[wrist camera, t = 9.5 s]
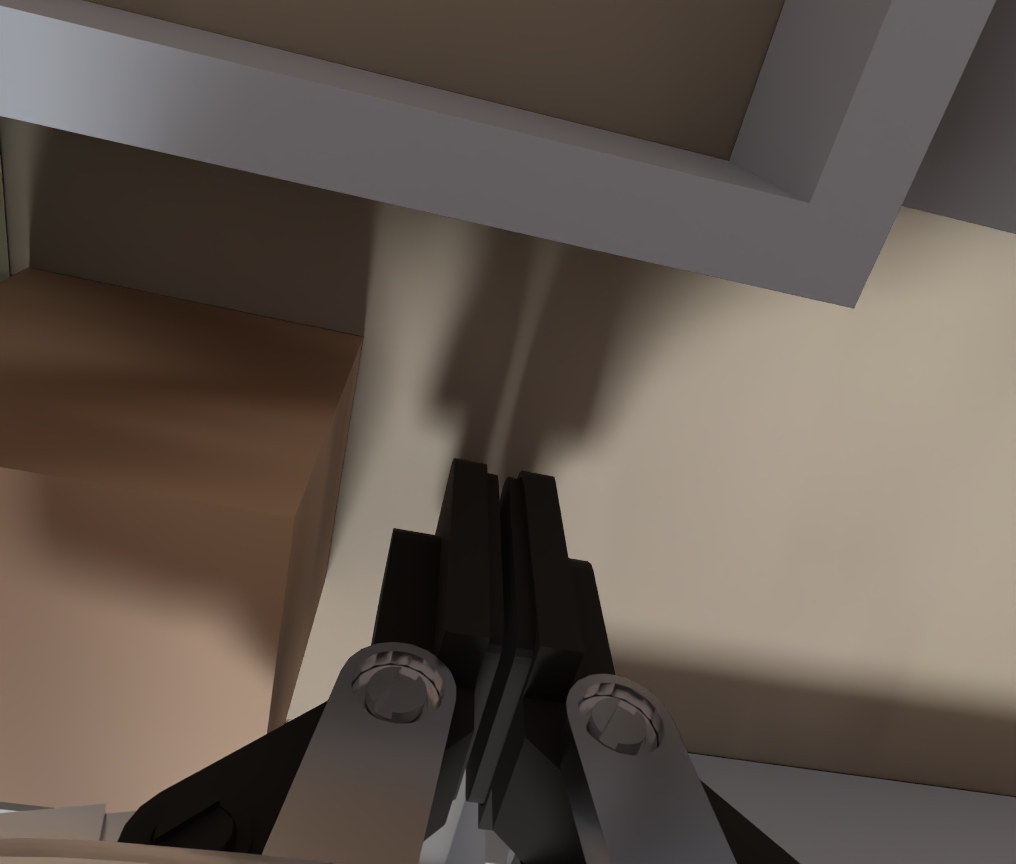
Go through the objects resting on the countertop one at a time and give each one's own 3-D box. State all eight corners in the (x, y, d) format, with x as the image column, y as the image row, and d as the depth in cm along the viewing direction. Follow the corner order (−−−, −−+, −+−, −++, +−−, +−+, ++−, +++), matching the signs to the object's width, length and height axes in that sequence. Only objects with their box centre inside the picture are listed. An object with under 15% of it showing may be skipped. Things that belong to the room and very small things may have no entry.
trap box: (1959, -150, 10) (2528, -219, 7) (934, 984, 22) (997, 1116, 19) (-217, -1025, 6) (-741, -1816, 4) (14, 897, 18) (-65, 1043, 16)
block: (363, 337, 12) (294, 518, 8) (324, 581, 14) (253, 830, 10) (27, 268, 11) (-264, 420, 7) (44, 536, 13) (-168, 781, 9)
